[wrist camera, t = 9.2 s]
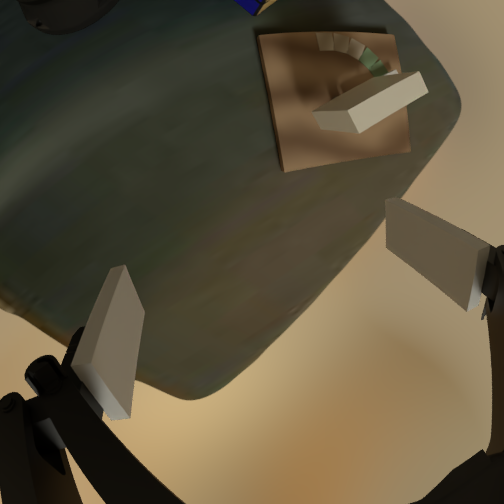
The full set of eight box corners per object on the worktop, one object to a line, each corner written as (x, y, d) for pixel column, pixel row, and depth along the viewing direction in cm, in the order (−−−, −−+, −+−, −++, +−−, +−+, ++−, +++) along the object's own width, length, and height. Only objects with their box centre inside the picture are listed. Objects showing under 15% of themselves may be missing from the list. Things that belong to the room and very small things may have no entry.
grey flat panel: (388, 65, 34) (447, 56, 23) (395, 80, 36) (456, 76, 25) (301, 112, 36) (347, 110, 25) (311, 128, 37) (359, 133, 26)
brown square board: (256, 38, 32) (258, 34, 31) (388, 36, 34) (394, 34, 33) (281, 170, 40) (284, 172, 38) (404, 150, 42) (411, 151, 40)
